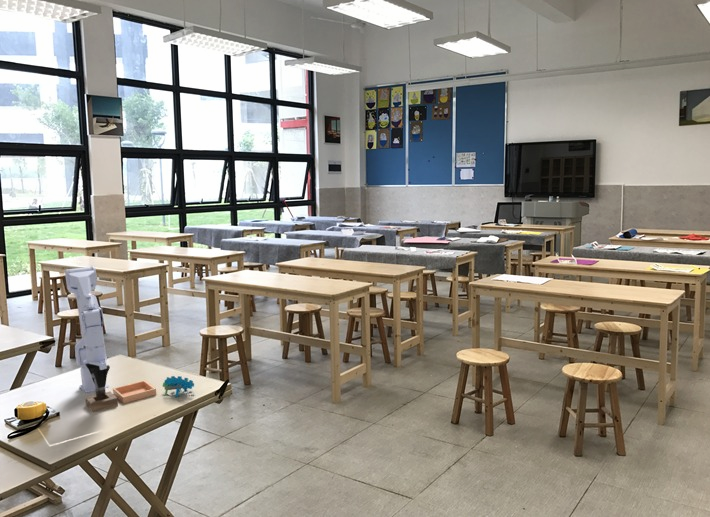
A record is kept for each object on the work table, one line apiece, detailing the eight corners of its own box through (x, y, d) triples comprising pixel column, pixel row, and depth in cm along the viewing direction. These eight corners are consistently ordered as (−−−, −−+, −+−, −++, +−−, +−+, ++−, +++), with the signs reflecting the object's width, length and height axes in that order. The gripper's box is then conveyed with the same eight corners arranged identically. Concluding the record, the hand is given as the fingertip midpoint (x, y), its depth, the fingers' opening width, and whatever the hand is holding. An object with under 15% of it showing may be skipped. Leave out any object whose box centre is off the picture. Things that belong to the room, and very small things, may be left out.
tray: (113, 395, 211) (112, 388, 211) (145, 387, 218) (144, 380, 218) (123, 404, 203) (122, 397, 202) (156, 395, 209) (155, 388, 209)
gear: (199, 385, 213) (185, 372, 205) (196, 400, 210) (182, 389, 202) (172, 387, 216) (157, 376, 208) (168, 403, 212) (153, 392, 205)
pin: (92, 395, 202) (89, 373, 200) (105, 392, 204) (103, 370, 203) (95, 399, 198) (93, 376, 197) (109, 395, 201) (107, 373, 200)
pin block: (86, 406, 203) (85, 397, 202) (111, 399, 207) (110, 391, 207) (93, 413, 196) (91, 404, 196) (118, 406, 201) (117, 397, 201)
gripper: (76, 343, 202) (81, 382, 204) (88, 353, 190) (93, 394, 193) (98, 339, 206) (102, 377, 208) (111, 348, 195) (115, 388, 197)
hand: (99, 385), depth 201 cm, fingers closed on pin, 4 cm apart
